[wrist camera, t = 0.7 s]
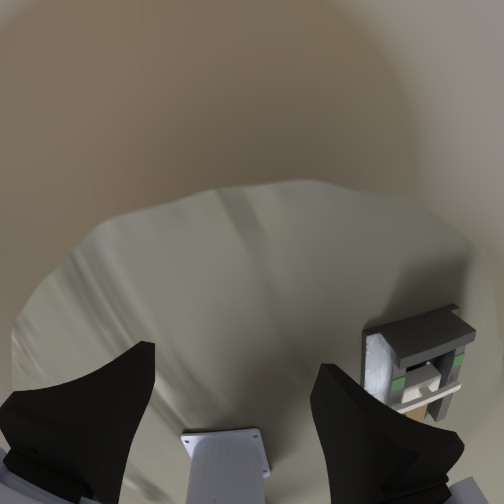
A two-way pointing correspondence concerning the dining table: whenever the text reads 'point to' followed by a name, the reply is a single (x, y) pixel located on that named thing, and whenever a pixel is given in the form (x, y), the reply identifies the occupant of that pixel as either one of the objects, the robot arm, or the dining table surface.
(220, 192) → the dining table surface
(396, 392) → the gauge frame
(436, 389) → the pointer
